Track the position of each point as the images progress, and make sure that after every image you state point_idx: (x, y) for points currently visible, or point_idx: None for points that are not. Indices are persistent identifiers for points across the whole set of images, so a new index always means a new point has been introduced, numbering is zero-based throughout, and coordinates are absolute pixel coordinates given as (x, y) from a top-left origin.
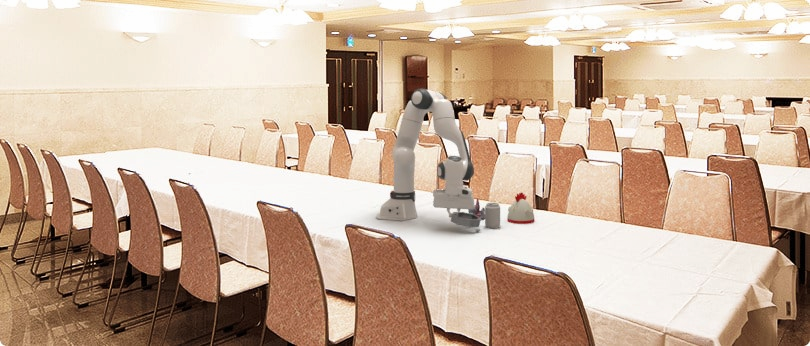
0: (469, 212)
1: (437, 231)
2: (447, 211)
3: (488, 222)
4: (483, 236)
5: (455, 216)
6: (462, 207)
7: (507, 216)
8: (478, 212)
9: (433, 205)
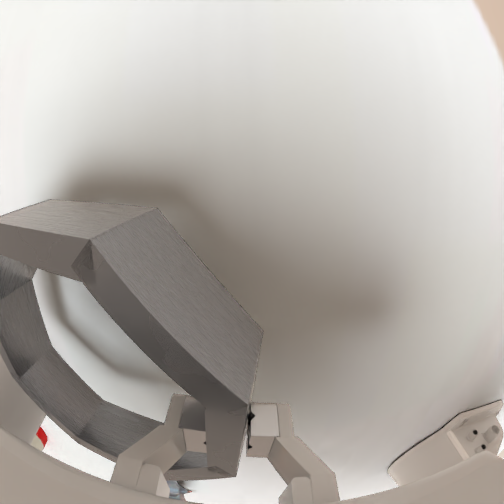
0: (178, 498)
1: (372, 256)
2: (319, 460)
3: None
4: (8, 128)
5: (166, 325)
6: (49, 477)
7: (37, 440)
8: None
9: (502, 459)
